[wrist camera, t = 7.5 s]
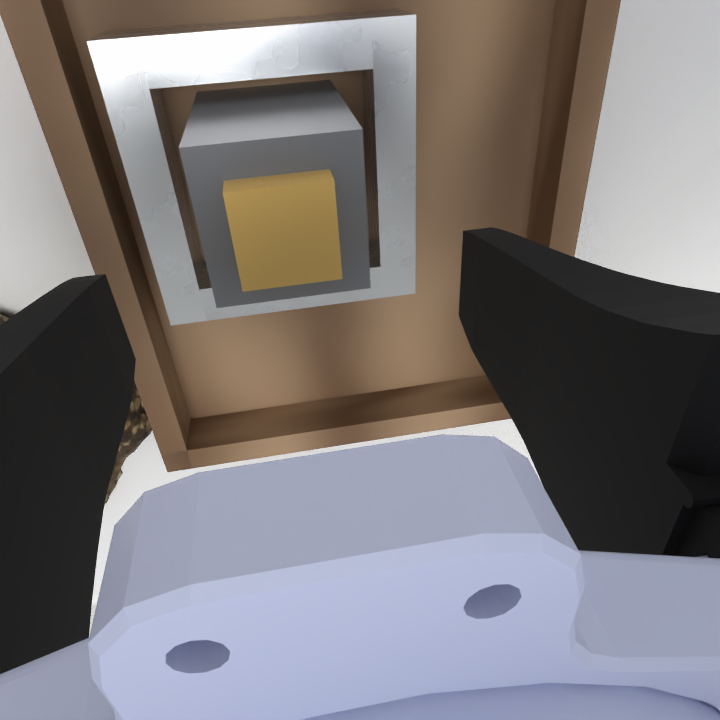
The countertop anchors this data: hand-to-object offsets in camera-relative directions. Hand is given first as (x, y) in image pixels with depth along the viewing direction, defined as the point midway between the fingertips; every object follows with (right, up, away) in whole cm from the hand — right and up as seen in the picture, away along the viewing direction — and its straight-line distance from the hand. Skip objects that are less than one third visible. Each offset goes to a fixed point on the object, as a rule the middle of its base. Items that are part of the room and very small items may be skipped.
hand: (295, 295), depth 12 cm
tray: (+1, +4, +9) cm, 10 cm away
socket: (-2, +5, +7) cm, 9 cm away
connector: (-1, +5, +7) cm, 9 cm away
